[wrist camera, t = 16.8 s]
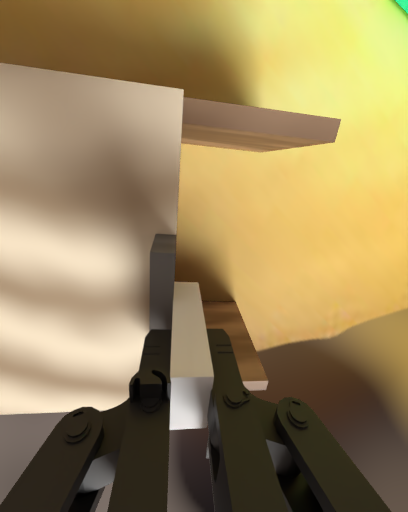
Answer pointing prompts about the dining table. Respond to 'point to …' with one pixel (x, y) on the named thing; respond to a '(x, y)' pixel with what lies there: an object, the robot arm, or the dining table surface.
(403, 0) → the camera mount
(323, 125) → the housing
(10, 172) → the lid
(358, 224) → the dining table surface
